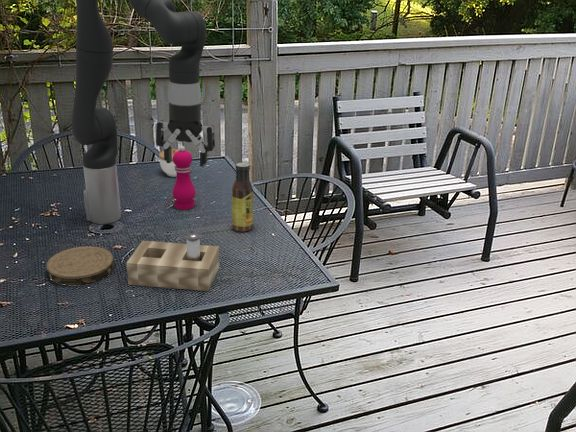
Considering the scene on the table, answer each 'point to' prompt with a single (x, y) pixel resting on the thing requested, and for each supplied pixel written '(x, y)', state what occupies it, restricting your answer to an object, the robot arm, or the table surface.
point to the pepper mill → (183, 180)
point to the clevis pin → (193, 244)
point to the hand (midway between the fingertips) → (185, 164)
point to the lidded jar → (168, 164)
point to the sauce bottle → (242, 199)
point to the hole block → (172, 266)
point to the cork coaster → (80, 265)
